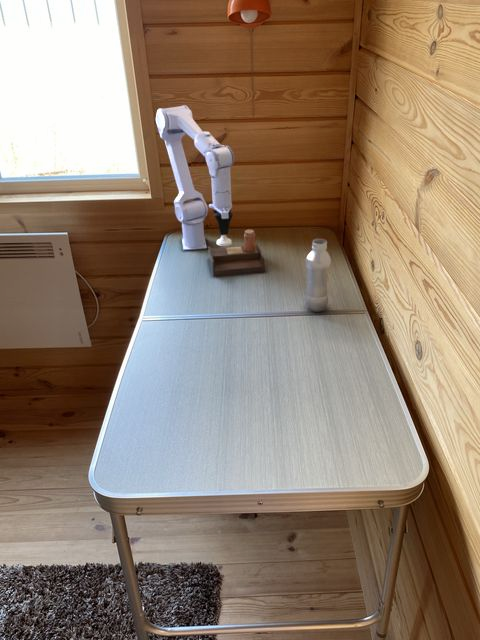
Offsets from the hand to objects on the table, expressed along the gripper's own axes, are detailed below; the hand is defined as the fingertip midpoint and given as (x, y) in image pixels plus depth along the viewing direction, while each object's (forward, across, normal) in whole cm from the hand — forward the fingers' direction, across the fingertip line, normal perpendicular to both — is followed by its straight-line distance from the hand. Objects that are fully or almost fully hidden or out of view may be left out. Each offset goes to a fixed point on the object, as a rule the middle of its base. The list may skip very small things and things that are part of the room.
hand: (223, 232), depth 162 cm
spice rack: (+10, +3, +3) cm, 11 cm away
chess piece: (+4, 0, 0) cm, 4 cm away
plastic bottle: (+11, +34, +22) cm, 41 cm away
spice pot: (+6, 0, +8) cm, 10 cm away
